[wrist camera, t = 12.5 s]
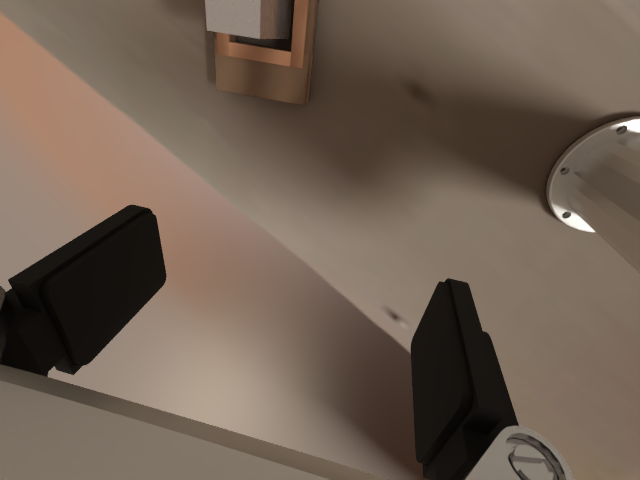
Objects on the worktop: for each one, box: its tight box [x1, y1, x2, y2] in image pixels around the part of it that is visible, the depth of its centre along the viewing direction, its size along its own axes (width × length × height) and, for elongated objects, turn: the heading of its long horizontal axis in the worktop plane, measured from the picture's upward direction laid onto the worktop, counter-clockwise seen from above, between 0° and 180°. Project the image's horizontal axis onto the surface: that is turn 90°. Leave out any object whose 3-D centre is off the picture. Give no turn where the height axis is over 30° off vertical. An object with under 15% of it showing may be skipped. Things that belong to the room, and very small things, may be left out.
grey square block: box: [205, 0, 292, 39], centre depth 28 cm, size 4×4×9 cm
